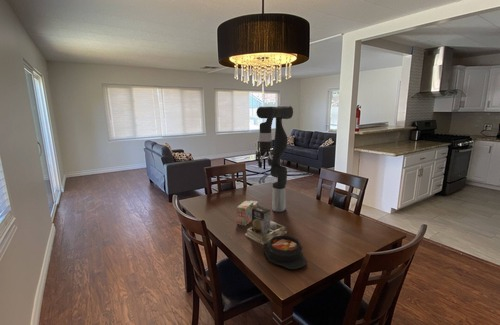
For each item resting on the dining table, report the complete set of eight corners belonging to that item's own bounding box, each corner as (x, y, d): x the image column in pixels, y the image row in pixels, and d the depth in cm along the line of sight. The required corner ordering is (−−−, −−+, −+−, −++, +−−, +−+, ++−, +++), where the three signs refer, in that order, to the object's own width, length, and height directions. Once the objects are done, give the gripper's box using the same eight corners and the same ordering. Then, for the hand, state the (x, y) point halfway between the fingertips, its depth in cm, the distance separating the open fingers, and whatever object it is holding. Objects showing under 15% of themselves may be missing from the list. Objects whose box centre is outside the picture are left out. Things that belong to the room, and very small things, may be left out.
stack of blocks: (250, 212, 183) (250, 196, 180) (258, 213, 180) (258, 197, 178) (237, 224, 164) (236, 206, 161) (245, 226, 161) (245, 208, 159)
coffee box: (251, 234, 149) (251, 208, 145) (258, 230, 153) (258, 205, 150) (263, 239, 142) (263, 212, 139) (270, 235, 147) (270, 209, 144)
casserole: (255, 251, 133) (255, 236, 131) (283, 241, 142) (283, 228, 140) (285, 278, 112) (286, 260, 110) (316, 264, 121) (317, 248, 120)
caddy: (268, 224, 163) (268, 217, 162) (286, 233, 152) (287, 225, 151) (245, 235, 150) (245, 227, 149) (263, 245, 139) (263, 236, 138)
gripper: (268, 138, 160) (268, 163, 164) (252, 140, 151) (252, 167, 154) (277, 139, 155) (277, 165, 158) (261, 141, 145) (261, 169, 149)
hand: (265, 166), depth 156 cm, fingers open, 8 cm apart
